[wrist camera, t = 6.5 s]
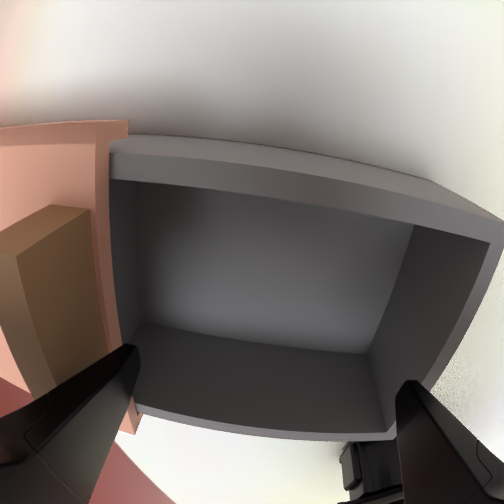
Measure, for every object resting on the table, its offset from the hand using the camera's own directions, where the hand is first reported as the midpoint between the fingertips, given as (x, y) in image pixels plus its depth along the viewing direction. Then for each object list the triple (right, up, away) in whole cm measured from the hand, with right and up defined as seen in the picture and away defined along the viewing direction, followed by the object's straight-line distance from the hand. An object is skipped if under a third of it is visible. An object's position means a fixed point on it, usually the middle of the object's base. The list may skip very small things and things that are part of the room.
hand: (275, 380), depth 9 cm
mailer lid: (-14, +3, +3) cm, 14 cm away
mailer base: (0, +3, +8) cm, 9 cm away
